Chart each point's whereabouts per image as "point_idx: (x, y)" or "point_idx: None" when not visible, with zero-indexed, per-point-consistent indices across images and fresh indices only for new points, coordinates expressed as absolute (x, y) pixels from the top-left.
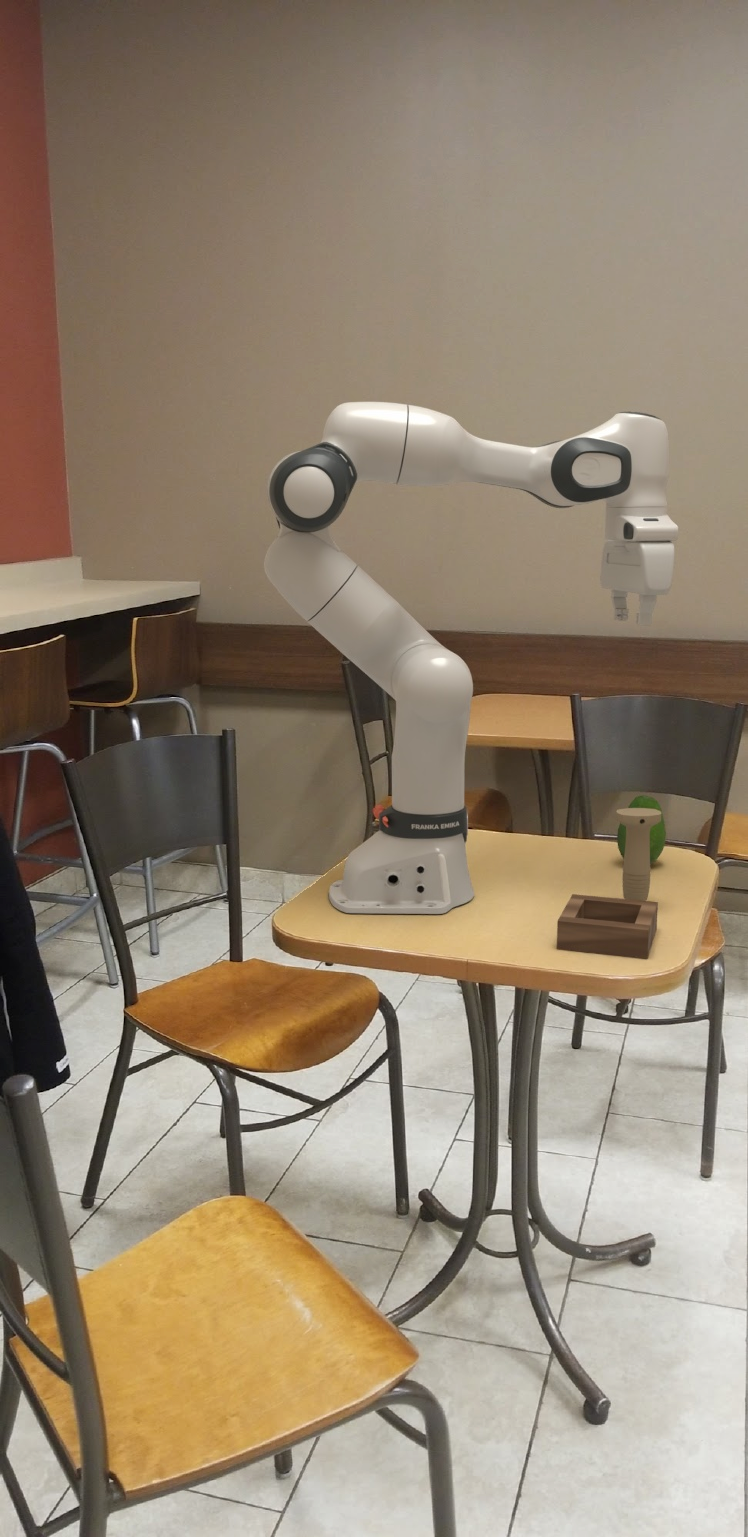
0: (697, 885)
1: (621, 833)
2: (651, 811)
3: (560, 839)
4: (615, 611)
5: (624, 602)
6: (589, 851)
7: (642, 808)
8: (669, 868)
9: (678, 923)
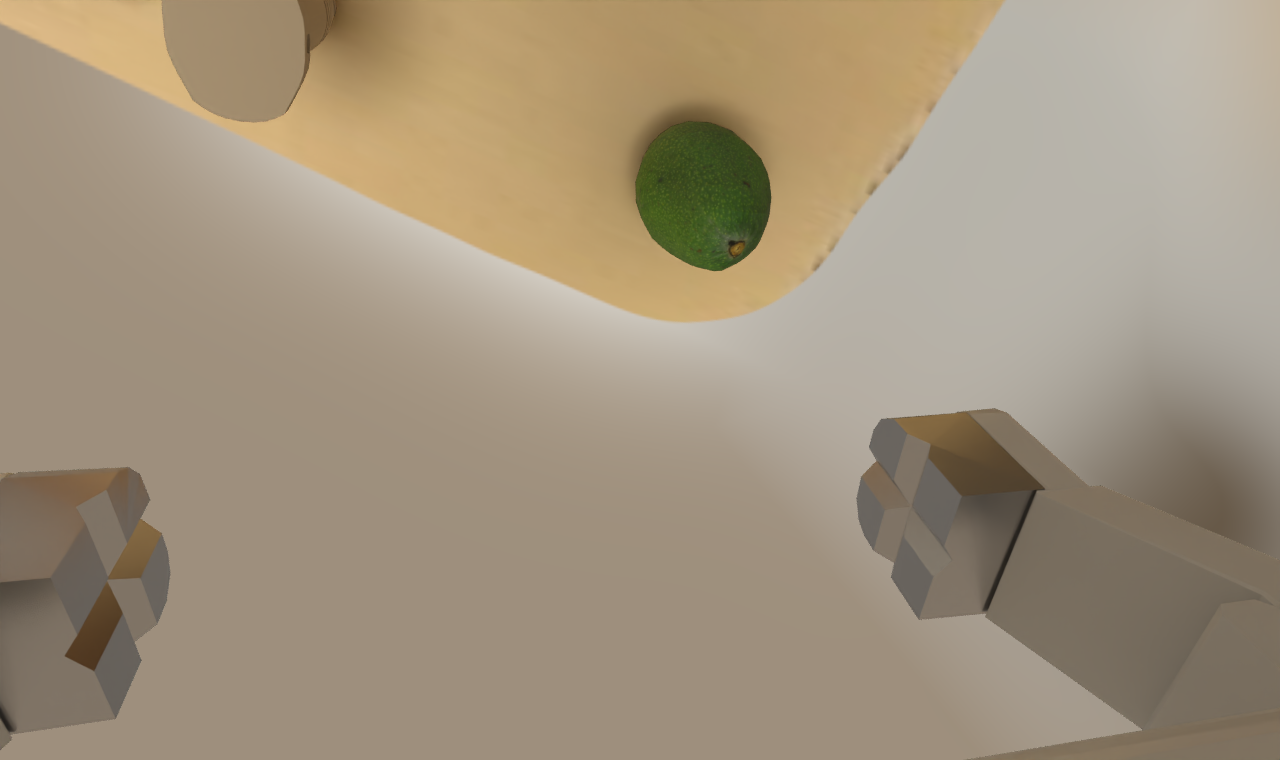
0: (496, 242)
1: (696, 132)
2: (244, 87)
3: (957, 44)
4: (1009, 466)
5: (1080, 660)
6: (829, 83)
7: (295, 72)
8: (637, 230)
9: None
